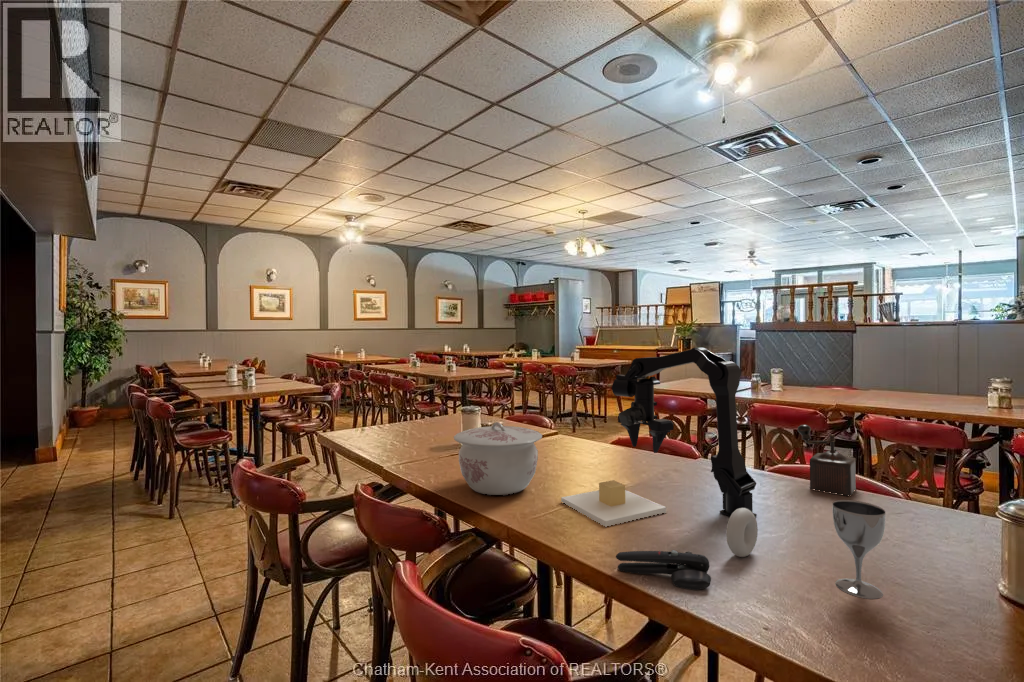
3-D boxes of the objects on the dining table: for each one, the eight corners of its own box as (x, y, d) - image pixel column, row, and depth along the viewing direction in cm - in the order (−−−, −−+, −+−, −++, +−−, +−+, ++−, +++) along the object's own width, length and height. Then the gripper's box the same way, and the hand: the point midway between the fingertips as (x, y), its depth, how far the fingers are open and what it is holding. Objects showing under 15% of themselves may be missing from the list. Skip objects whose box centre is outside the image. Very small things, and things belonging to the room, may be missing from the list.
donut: (744, 545, 107) (744, 501, 107) (760, 551, 105) (760, 505, 105) (723, 560, 101) (722, 512, 101) (740, 565, 98) (739, 516, 98)
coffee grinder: (857, 488, 146) (857, 428, 146) (850, 497, 138) (850, 434, 138) (799, 478, 157) (798, 422, 156) (789, 486, 149) (789, 427, 148)
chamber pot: (528, 508, 132) (527, 433, 132) (438, 499, 141) (437, 428, 141) (553, 479, 159) (552, 416, 158) (476, 472, 168) (475, 413, 167)
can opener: (711, 577, 94) (711, 549, 94) (710, 595, 88) (710, 564, 88) (619, 562, 101) (619, 535, 101) (612, 577, 95) (612, 549, 95)
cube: (625, 503, 131) (625, 484, 131) (610, 506, 129) (610, 487, 129) (613, 497, 135) (613, 480, 135) (599, 500, 133) (599, 482, 133)
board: (666, 512, 128) (666, 507, 128) (605, 527, 119) (605, 521, 119) (617, 491, 146) (617, 486, 146) (561, 502, 137) (561, 497, 137)
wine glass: (863, 577, 93) (862, 499, 93) (897, 599, 85) (897, 514, 85) (822, 578, 93) (822, 500, 93) (853, 600, 85) (853, 515, 85)
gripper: (603, 397, 152) (604, 446, 152) (645, 404, 136) (645, 459, 136) (631, 394, 157) (632, 442, 157) (674, 401, 141) (675, 454, 141)
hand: (644, 449), depth 148 cm, fingers open, 9 cm apart
